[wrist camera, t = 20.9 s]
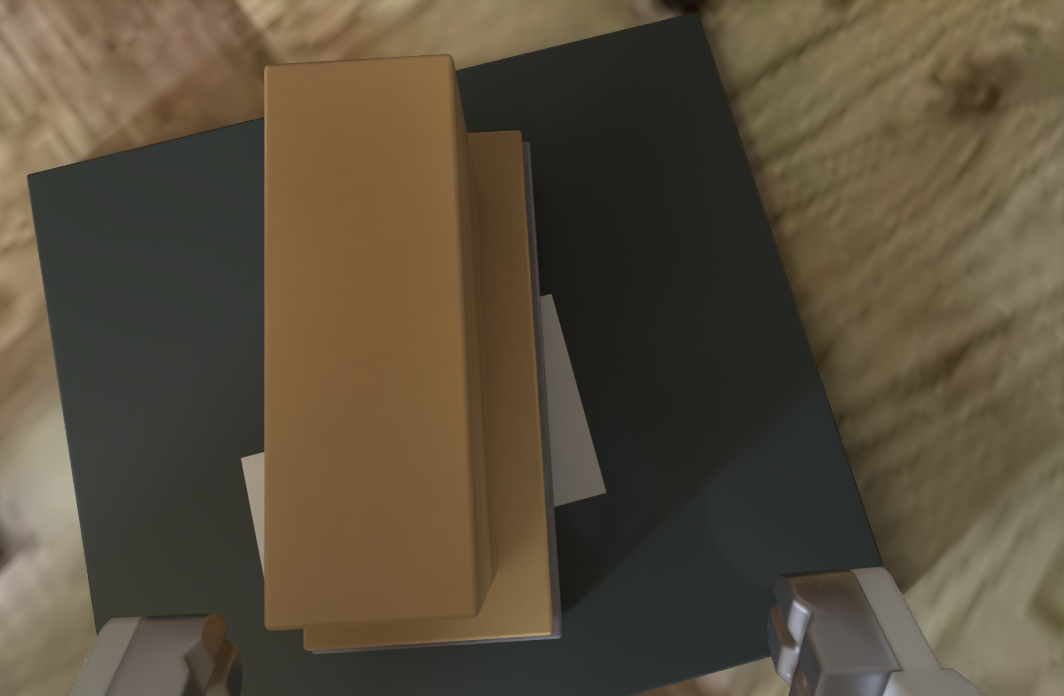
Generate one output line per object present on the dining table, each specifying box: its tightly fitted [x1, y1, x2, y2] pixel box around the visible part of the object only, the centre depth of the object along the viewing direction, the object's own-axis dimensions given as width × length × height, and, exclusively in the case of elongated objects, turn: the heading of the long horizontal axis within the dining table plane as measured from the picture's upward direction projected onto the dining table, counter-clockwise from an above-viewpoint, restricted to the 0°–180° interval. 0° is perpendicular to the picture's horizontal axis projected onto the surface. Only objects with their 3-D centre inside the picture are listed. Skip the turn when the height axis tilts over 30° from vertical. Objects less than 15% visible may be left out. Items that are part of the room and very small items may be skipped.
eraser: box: [264, 54, 563, 654], centre depth 14 cm, size 5×11×8 cm, turn 4°
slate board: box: [27, 12, 884, 696], centre depth 19 cm, size 18×16×1 cm
